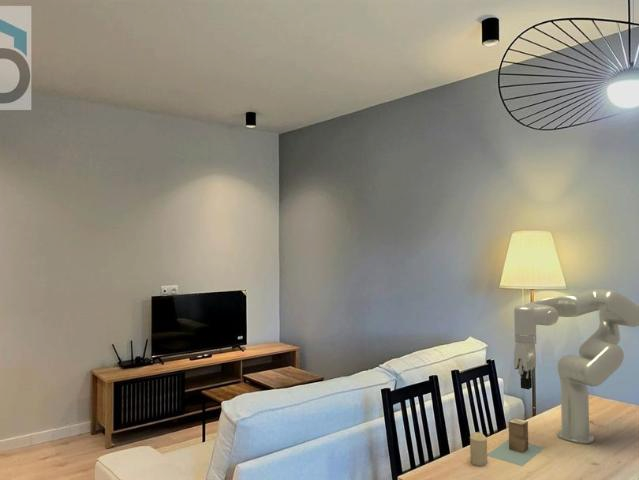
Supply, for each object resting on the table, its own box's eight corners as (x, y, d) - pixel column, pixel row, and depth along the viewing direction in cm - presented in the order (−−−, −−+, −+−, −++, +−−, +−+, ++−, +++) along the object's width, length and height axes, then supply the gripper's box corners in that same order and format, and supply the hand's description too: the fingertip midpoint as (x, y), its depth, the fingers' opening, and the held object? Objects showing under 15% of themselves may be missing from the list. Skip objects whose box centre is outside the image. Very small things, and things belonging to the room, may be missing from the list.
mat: (510, 439, 188) (510, 438, 188) (545, 449, 179) (545, 447, 179) (485, 456, 173) (485, 455, 173) (522, 468, 164) (522, 466, 164)
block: (514, 445, 181) (514, 418, 181) (528, 449, 178) (527, 421, 178) (509, 449, 178) (508, 421, 178) (522, 453, 174) (522, 424, 174)
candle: (488, 466, 165) (487, 437, 165) (471, 465, 166) (470, 435, 166) (486, 460, 170) (485, 431, 171) (469, 458, 172) (469, 430, 172)
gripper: (523, 335, 192) (524, 382, 192) (506, 340, 181) (507, 390, 181) (543, 337, 187) (544, 385, 187) (527, 343, 176) (528, 394, 176)
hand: (526, 387), depth 184 cm, fingers closed
